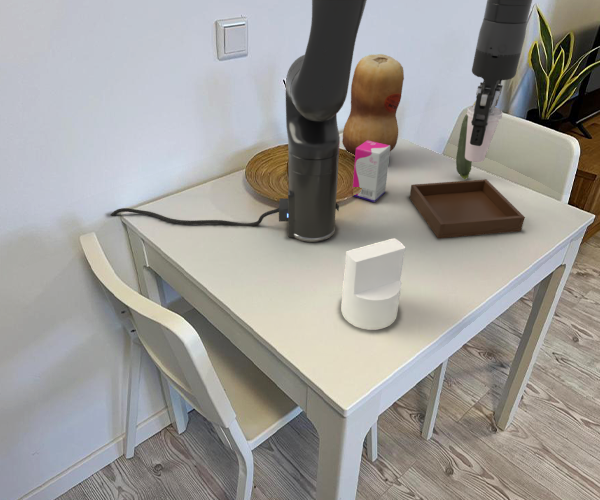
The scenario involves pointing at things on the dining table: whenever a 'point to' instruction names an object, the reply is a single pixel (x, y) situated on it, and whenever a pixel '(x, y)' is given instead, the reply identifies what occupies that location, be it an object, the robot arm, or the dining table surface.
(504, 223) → the tray
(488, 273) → the dining table surface
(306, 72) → the robot arm
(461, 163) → the vegetable
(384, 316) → the cylinder with rectangular tab
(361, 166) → the supplement box
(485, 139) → the smoothie
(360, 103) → the butternut squash
